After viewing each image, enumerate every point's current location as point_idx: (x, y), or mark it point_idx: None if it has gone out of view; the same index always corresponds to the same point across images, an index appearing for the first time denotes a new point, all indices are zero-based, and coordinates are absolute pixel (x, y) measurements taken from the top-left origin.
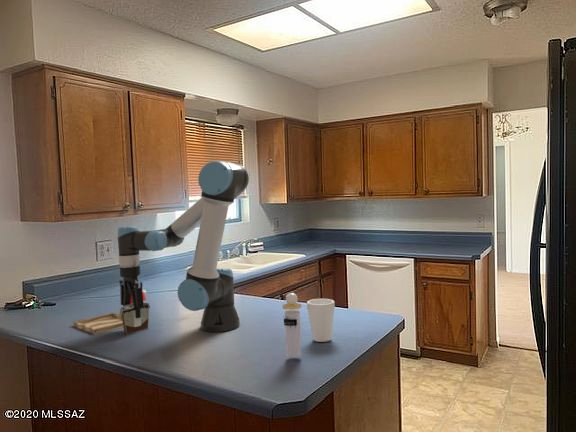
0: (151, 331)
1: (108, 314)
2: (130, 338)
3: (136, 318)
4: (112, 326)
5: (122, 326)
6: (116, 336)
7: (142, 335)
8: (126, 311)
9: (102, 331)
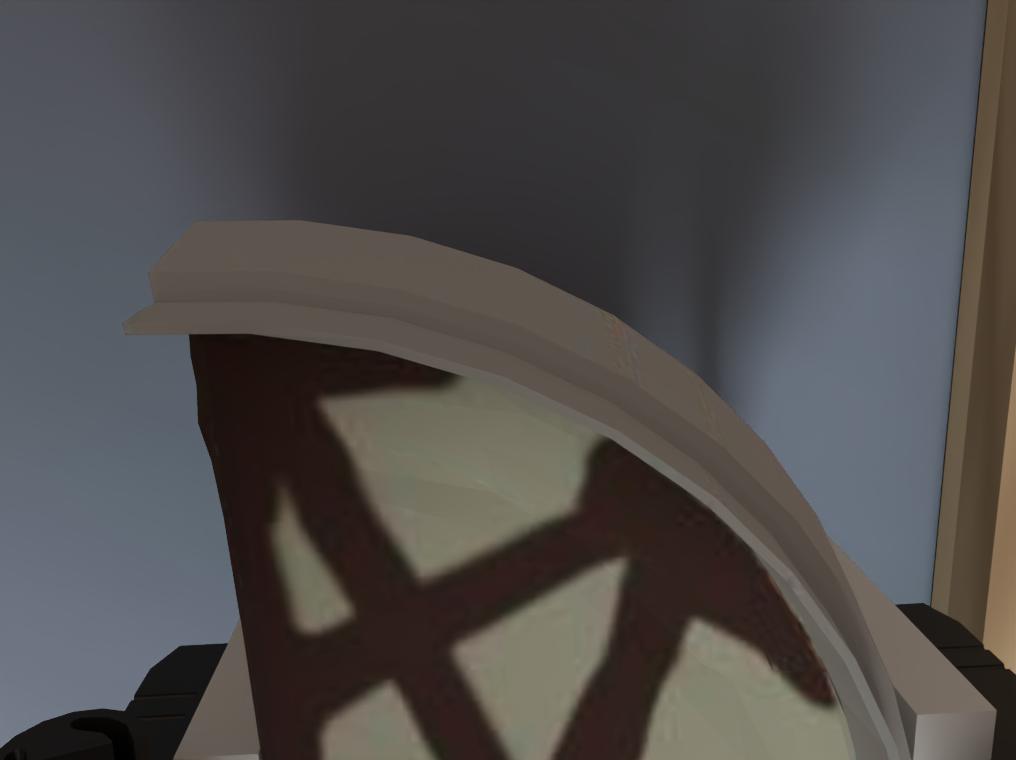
0: None
1: None
2: (26, 215)
3: None
4: (1011, 266)
5: (954, 477)
6: (427, 86)
7: (48, 471)
8: (229, 483)
9: (1001, 12)
